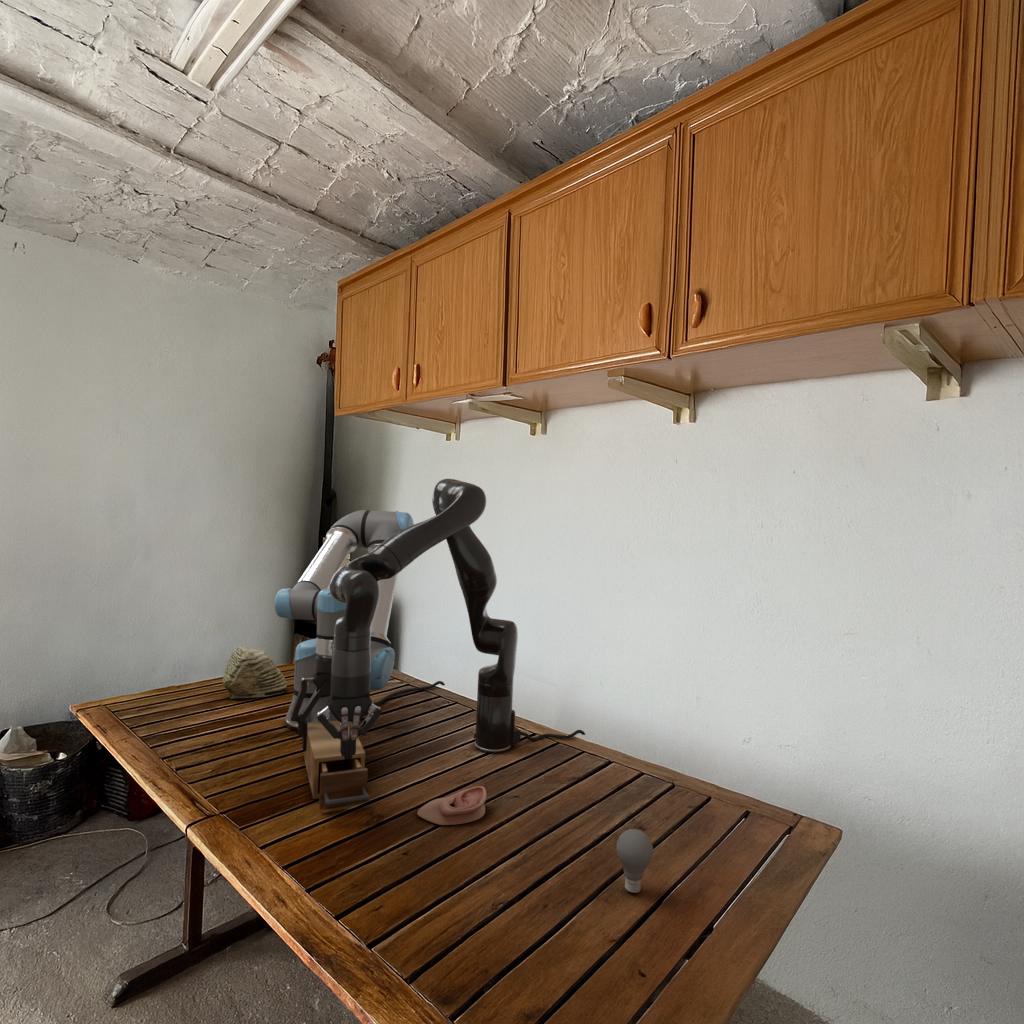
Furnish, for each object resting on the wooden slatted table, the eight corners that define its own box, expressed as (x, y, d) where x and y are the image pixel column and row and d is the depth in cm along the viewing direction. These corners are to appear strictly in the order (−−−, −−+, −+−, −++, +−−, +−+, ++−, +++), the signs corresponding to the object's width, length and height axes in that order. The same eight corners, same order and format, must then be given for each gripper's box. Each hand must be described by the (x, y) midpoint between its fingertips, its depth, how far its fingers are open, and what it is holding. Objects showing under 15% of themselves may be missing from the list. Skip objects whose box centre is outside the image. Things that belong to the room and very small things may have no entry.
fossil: (218, 695, 195) (220, 647, 195) (278, 685, 208) (279, 640, 207) (228, 703, 189) (230, 653, 188) (289, 692, 201) (290, 645, 201)
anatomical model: (412, 801, 125) (431, 776, 136) (411, 820, 125) (430, 795, 136) (477, 810, 122) (491, 784, 134) (476, 830, 122) (490, 803, 134)
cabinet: (363, 792, 136) (365, 752, 136) (313, 799, 132) (314, 758, 132) (348, 754, 156) (349, 719, 156) (304, 759, 152) (305, 723, 152)
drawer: (371, 814, 125) (372, 780, 125) (322, 821, 121) (323, 787, 121) (351, 763, 149) (352, 734, 149) (310, 767, 145) (311, 739, 145)
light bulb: (610, 879, 108) (613, 822, 108) (644, 879, 109) (647, 822, 109) (619, 902, 102) (622, 840, 102) (655, 901, 103) (658, 840, 103)
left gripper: (281, 661, 143) (278, 758, 143) (383, 655, 152) (380, 746, 152) (280, 653, 150) (276, 746, 150) (377, 648, 159) (374, 735, 159)
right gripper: (318, 677, 118) (314, 769, 119) (388, 672, 124) (385, 760, 124) (314, 667, 125) (310, 753, 126) (381, 663, 131) (377, 746, 131)
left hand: (328, 746), depth 151 cm, fingers closed on cabinet, 10 cm apart
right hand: (347, 757), depth 125 cm, fingers closed
